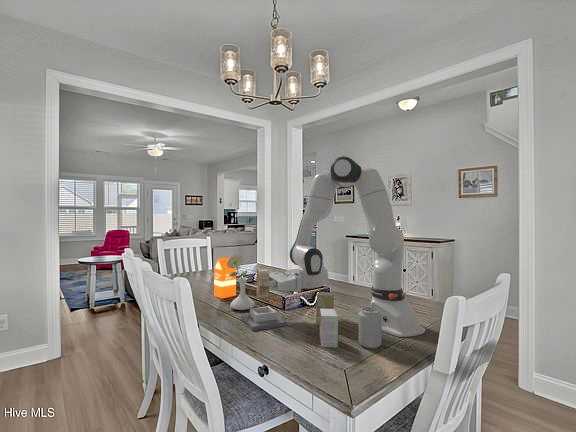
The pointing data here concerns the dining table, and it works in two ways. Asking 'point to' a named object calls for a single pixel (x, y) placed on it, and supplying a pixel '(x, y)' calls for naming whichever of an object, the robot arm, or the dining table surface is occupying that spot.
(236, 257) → the flower in vase
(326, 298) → the skincare box
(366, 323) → the can
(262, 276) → the maple peg
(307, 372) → the dining table surface
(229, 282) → the orange juice
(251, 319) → the socket board
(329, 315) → the small box
